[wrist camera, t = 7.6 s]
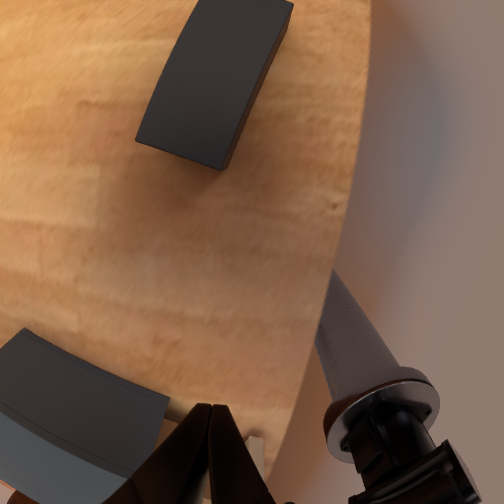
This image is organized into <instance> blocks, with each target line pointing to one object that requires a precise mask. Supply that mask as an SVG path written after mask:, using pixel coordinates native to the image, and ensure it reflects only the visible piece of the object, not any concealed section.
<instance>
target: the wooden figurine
mask: <svg viewBox="0 0 504 504" xmlns="http://www.w3.org/2000/svg"><path fill="white" fill-rule="evenodd" d="M7 504H40V503H38V502H36V501H34V500H33V499H31V498H29V497H28V496H26V495H24V494H23V493H21V492H20V491H18V490H16V491H15V492H14V493H13V494H12V496H11V497H10V498H9V500H8V502H7Z"/></svg>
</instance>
